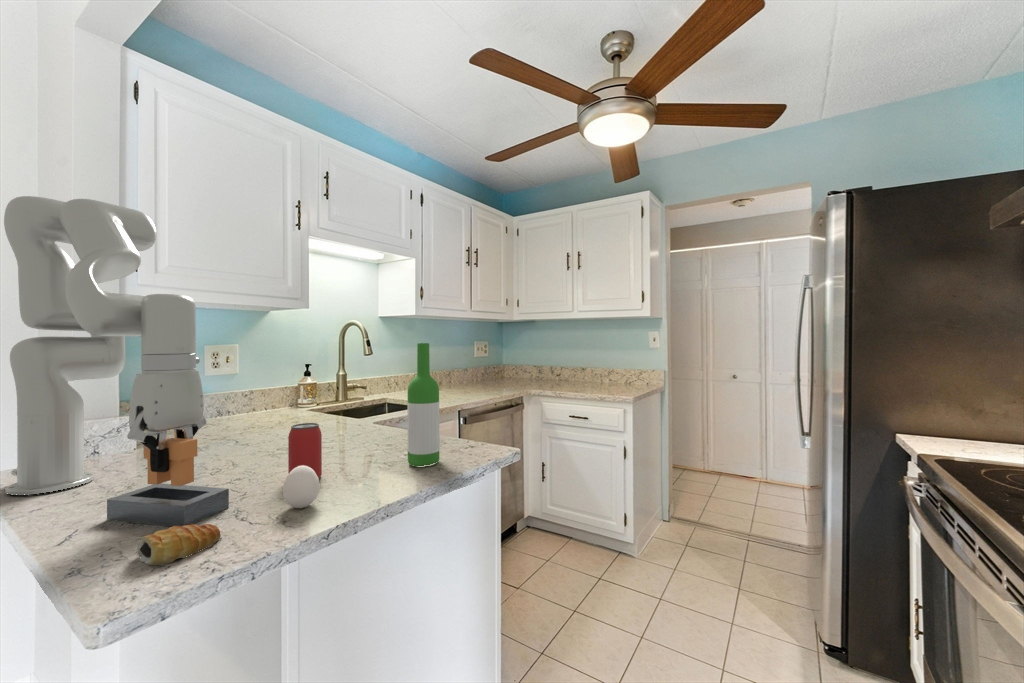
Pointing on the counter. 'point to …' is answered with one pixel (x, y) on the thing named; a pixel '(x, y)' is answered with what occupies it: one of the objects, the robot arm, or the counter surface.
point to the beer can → (305, 447)
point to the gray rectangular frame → (168, 504)
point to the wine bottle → (423, 413)
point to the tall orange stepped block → (175, 462)
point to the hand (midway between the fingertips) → (170, 467)
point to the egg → (301, 487)
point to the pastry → (176, 543)
